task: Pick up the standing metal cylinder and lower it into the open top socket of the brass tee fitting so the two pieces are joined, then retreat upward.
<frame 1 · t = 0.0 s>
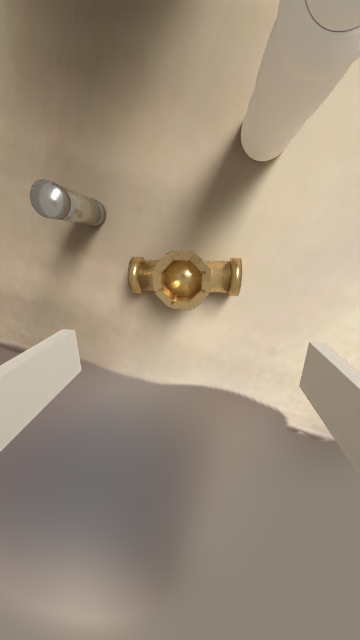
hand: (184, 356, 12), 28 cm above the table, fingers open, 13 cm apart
water bottle: (264, 134, 31), on the table
metal cylinder: (94, 213, 37), on the table
tee fitting: (186, 274, 38), on the table
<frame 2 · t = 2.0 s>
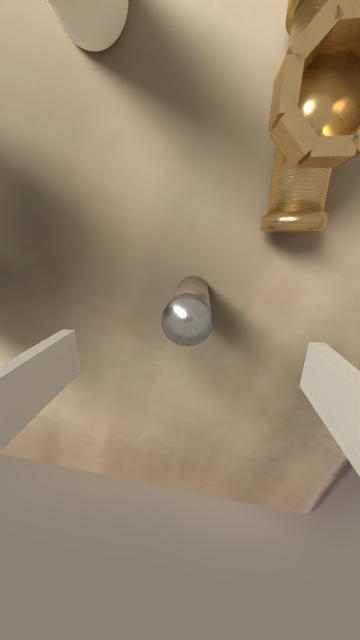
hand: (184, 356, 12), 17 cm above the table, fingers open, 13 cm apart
water bottle: (95, 8, 20), on the table
metal cylinder: (193, 291, 28), on the table
tee fitting: (295, 140, 22), on the table
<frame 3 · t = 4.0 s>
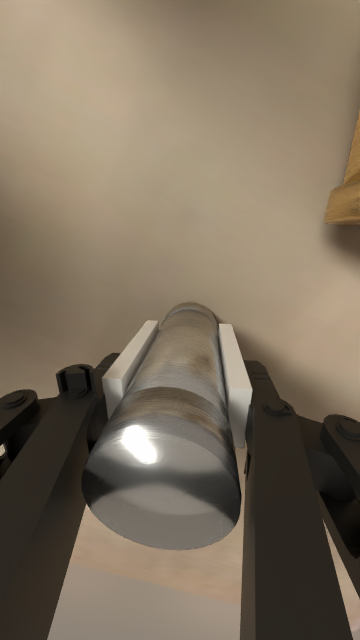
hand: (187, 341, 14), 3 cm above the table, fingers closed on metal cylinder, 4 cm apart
metal cylinder: (190, 327, 17), on the table, touching gripper
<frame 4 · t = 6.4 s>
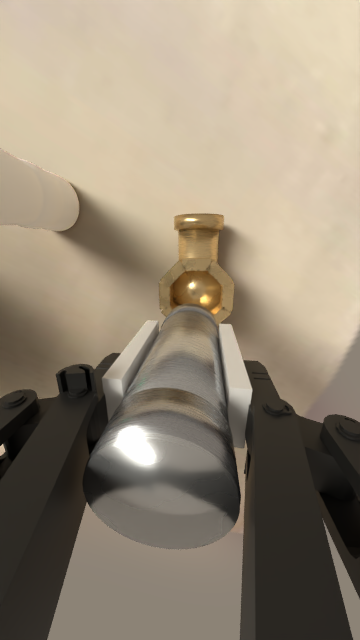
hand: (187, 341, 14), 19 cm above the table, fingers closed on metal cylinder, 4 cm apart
water bottle: (58, 204, 30), on the table
metal cylinder: (190, 328, 17), point 16 cm above the table, touching gripper
tee fitting: (197, 284, 32), on the table
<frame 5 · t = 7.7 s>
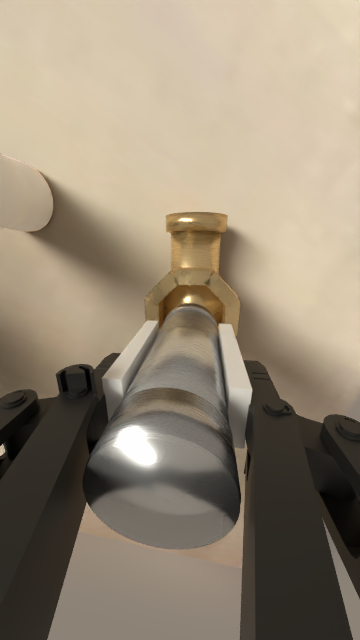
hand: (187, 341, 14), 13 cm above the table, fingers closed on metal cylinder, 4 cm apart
water bottle: (29, 200, 25), on the table
metal cylinder: (190, 328, 17), point 11 cm above the table, touching gripper
tee fitting: (195, 296, 27), on the table
when the fingers open (10 cm above the table, at t = 8.7 s): metal cylinder drops 1 cm, resting on tee fitting.
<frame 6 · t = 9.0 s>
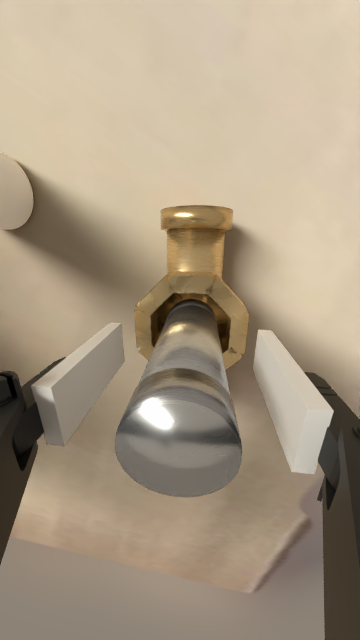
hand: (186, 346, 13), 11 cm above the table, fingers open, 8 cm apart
water bottle: (7, 193, 22), on the table
metal cylinder: (191, 321, 18), point 6 cm above the table, touching tee fitting
tee fitting: (195, 303, 24), on the table
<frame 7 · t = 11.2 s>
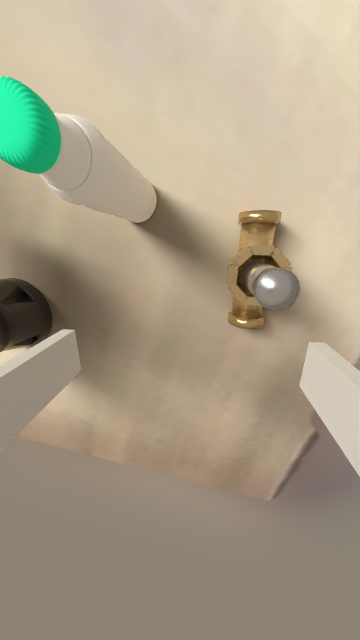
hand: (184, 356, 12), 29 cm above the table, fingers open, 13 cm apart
water bottle: (138, 200, 37), on the table
metal cylinder: (255, 275, 32), point 6 cm above the table, touching tee fitting
tee fitting: (249, 270, 38), on the table
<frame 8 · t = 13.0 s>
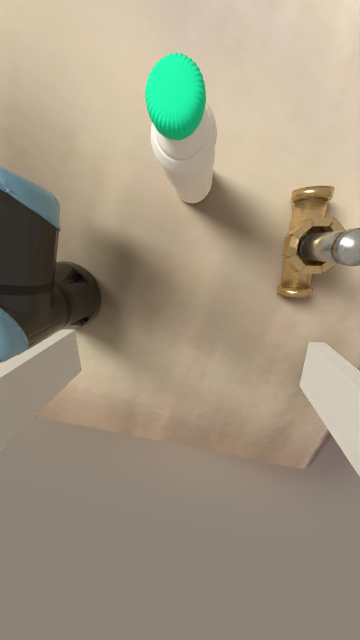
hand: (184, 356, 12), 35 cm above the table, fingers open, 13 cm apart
water bottle: (192, 182, 40), on the table
metal cylinder: (309, 246, 35), point 6 cm above the table, touching tee fitting
tee fitting: (295, 246, 41), on the table
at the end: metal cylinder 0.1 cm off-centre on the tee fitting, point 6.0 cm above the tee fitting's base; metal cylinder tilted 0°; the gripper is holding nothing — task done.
